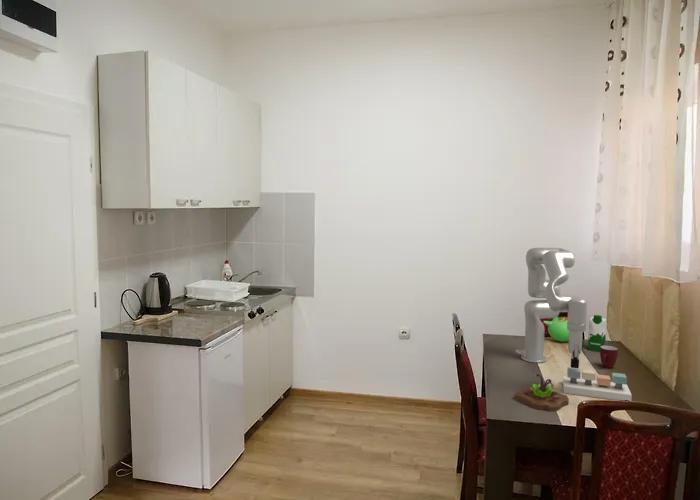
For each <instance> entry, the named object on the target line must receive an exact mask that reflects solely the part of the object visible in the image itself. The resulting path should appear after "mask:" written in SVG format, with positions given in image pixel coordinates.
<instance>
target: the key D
mask: <svg viewBox="0 0 700 500" xmlns="http://www.w3.org/2000/svg"><path fill="white" fill-rule="evenodd" d="M627 381H628V377H627V376H626V373H620V372H611V382H613V383H615V388H616V389H622V384H625V385H626V384H627V383H628V382H627ZM627 385H628V384H627Z"/></svg>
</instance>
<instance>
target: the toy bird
mask: <svg viewBox="0 0 700 500" xmlns="http://www.w3.org/2000/svg"><path fill="white" fill-rule="evenodd" d="M567 319H568V317H559V316H558V317H556V318H552V320H551V321H550V320H543V322H542V323H543V324H545V325H546V326H547V331H548V334H549V336H550V337H551V339H554V340H556V341H558V342H569V330H567Z"/></svg>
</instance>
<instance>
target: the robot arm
mask: <svg viewBox="0 0 700 500" xmlns="http://www.w3.org/2000/svg"><path fill="white" fill-rule="evenodd" d="M575 262H576V259H575V256H574V253H572V252H571V251H570V250H569V249H568V250H567V249H564V248H561V247H532V248H530V249H528V250H527V251H526V254H525V263H526V266H527V271H528V274H527V293H528V296H530V297H531V298H535V299H531V300H528V301H526V303H524V306H523V307H524V308H523V309H524V319H525V330H524V348H523V349H518V348H517V349H515V354H517V355H521V356H520V359H522V360H523V361H525V362H529V363H537V364H538V363H540V364H541V363H544V362H547V357H546V356H545V355H544V350H545V349H544V347H545V330H546V329H545V325H544V323H543V322H542V320H543V319H553V318H556V317H558V318H559V315H560V313H567V318H568V319H567V330H569V341H568V342H567V343H568V345H567V351H568V353H569V354H571V358H570V368H577V369H580V368H579V366H580V359H579V358H580V357H579V356H580V355H581V354H582V349H583V337H584V336H583V333H585V332H587V331H586V330H587V311H588V302H587V300H585V299H582V298H581V297H579V296H578V295H561V286H560V285H562V284H565V283H566V282H567V281H568V280H569V277H570V275H569V274H568V271H567V269H571V268H573V267H574V266H575ZM543 265H544V266H543ZM544 267H545V268H544ZM546 272H547V273H546ZM546 274H547V276H548V279H546ZM536 298H537V299H538V300H537V299H536ZM539 298H540V299H539ZM541 299H543V300H541ZM544 299H545V300H544ZM541 319H542V320H541Z"/></svg>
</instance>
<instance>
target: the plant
mask: <svg viewBox="0 0 700 500" xmlns="http://www.w3.org/2000/svg"><path fill="white" fill-rule="evenodd" d="M534 377H535V379H538V378H539V379H540V383H538V384H536V383H532V386H527V387H522V388H520V389H518V390H517V392H516V393H514V395H513V399H514V400H515V401H517V402H520V403H522V404H524V405H527V406H530V407H531V408H532V409H537V410H540V411H543V410H546V411H548V412H558V411H560V410H561V409H562V408H563V407H566V406H568V405H569V399H570V398H569V397H568V395H566V394H563V393H560V392H559V391H557V390H555V389H554V388H555V385H554V383H552V379H550V378H547V379H546V380H545V382H544V379H543V376H542V375H540V374H539V373H536V374H534ZM550 385H551V386H550Z"/></svg>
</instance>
